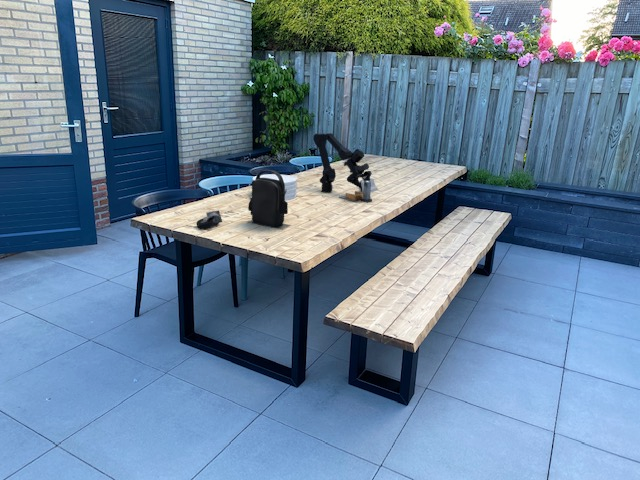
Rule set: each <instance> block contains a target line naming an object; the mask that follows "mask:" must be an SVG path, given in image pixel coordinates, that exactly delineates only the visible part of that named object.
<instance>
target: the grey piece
mask: <svg viewBox="0 0 640 480" xmlns="http://www.w3.org/2000/svg"><path fill="white" fill-rule="evenodd" d="M371 193H372V192H371V181H370V180H364V190H363V198H362V199H361V200H360V201H361V203H371V202H373V198H371Z"/></svg>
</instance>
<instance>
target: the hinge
mask: <svg viewBox="0 0 640 480" xmlns="http://www.w3.org/2000/svg"><path fill="white" fill-rule="evenodd" d="M363 180H364V179H362V178H361V180H359V182H360V184H361V186H362V188H359V187H358V191H359V192H363V190H364V181H363ZM370 181H371V193H373V192H376V191H378V190H379V189H378V187H377V186H376V182H375V179H374V178H372V177H370Z"/></svg>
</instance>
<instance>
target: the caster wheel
mask: <svg viewBox="0 0 640 480" xmlns="http://www.w3.org/2000/svg"><path fill="white" fill-rule="evenodd" d="M205 214H206V216H204V217H203V218H200V219H198V220H197V221H196V226H197V229H199V230H206V229H208V228H210V229H215V228H216V227H218V226H219V224H220V223H223V218H222V216H221V213H220V210H219V209H218V210H212V211H208V212H206V213H205Z"/></svg>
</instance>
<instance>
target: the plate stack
mask: <svg viewBox="0 0 640 480" xmlns="http://www.w3.org/2000/svg"><path fill="white" fill-rule="evenodd" d="M280 175H281V176H282V178H283V181H284V184H285V191H286V189H287V191H286V194H285V201H286V202H287V201H291V200H294V199H296V198H297V197H298V196H297V193H298V192H297V189H298V187H297V184H298V178H297V177H296V176H293V175H288V174H280ZM256 177H257V175H256V176H253V177H252V181H253V180H254V181H255V180H256ZM260 178H270V179H275V180H279V179H278V177H277V176H276V175H275V174H274V173H271V174H269V173H268V174H262V175H261V176H260Z"/></svg>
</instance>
